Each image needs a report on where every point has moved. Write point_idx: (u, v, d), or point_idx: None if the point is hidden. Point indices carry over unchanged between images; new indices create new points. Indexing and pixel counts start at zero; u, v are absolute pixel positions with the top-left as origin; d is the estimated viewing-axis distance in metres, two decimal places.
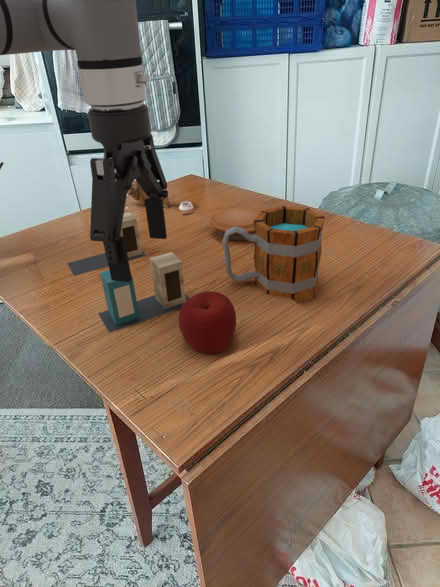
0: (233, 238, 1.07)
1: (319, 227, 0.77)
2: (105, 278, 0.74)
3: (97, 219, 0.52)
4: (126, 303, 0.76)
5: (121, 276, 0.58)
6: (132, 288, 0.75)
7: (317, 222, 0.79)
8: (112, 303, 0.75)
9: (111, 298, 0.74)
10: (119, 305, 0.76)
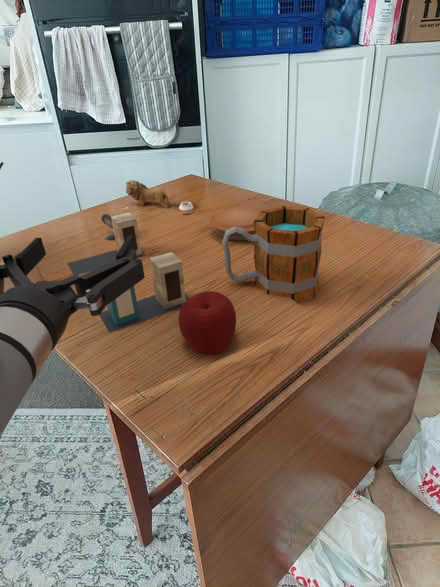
0: (233, 238, 1.07)
1: (319, 227, 0.77)
2: None
3: None
4: (126, 303, 0.76)
5: None
6: (132, 288, 0.75)
7: (317, 222, 0.79)
8: (112, 303, 0.75)
9: None
10: (119, 305, 0.76)
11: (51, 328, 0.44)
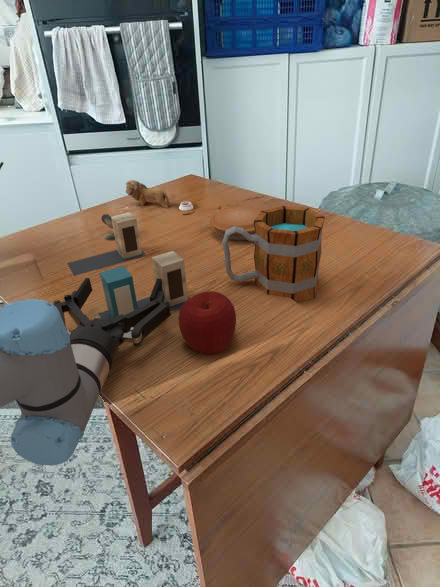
0: (233, 238, 1.07)
1: (319, 227, 0.77)
2: (105, 278, 0.74)
3: None
4: (126, 303, 0.76)
5: None
6: (132, 288, 0.75)
7: (317, 222, 0.79)
8: (112, 303, 0.75)
9: (111, 298, 0.74)
10: (119, 305, 0.76)
11: (108, 357, 0.62)
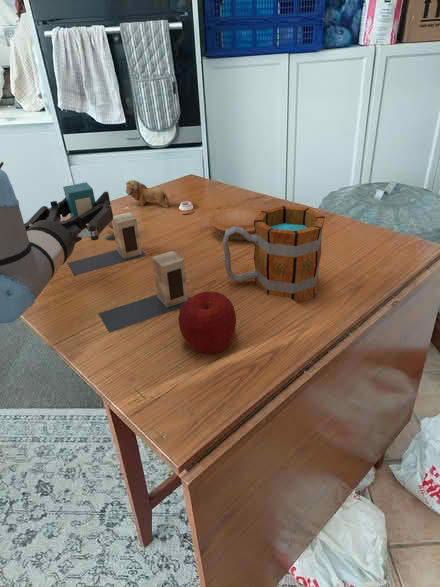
0: (233, 238, 1.07)
1: (319, 227, 0.77)
2: (67, 190, 0.79)
3: None
4: None
5: None
6: (93, 201, 0.81)
7: (317, 222, 0.79)
8: (74, 214, 0.80)
9: (73, 209, 0.80)
10: None
11: (63, 246, 0.67)
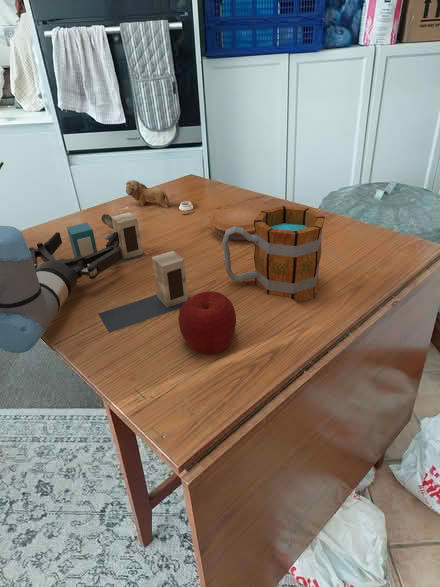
0: (233, 238, 1.07)
1: (319, 227, 0.77)
2: (70, 231, 0.91)
3: None
4: (88, 252, 0.94)
5: None
6: (93, 240, 0.93)
7: (317, 222, 0.79)
8: (76, 251, 0.92)
9: (75, 247, 0.92)
10: (82, 253, 0.93)
11: (67, 284, 0.79)
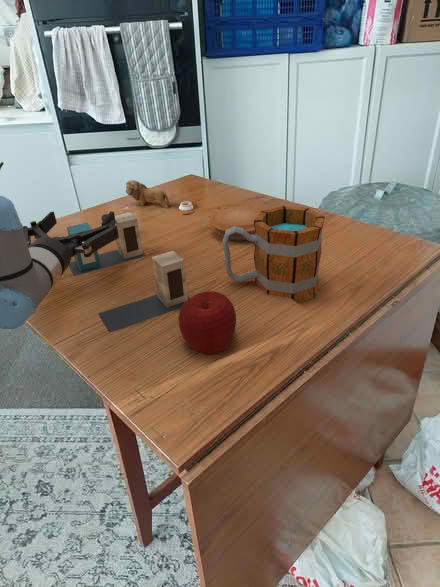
0: (233, 238, 1.07)
1: (319, 227, 0.77)
2: (70, 231, 0.91)
3: None
4: None
5: None
6: None
7: (317, 222, 0.79)
8: None
9: None
10: (82, 253, 0.93)
11: (61, 261, 0.77)
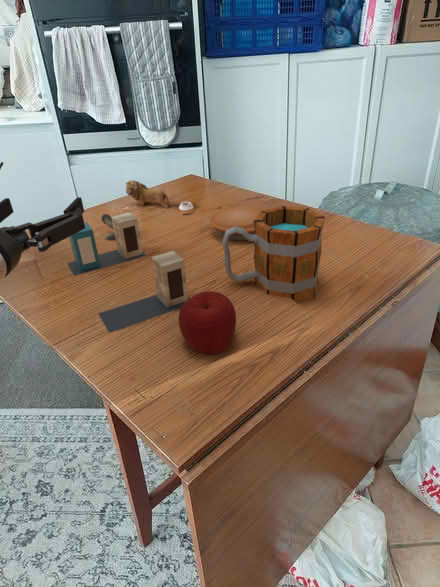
0: (233, 238, 1.07)
1: (319, 227, 0.77)
2: None
3: None
4: (88, 252, 0.94)
5: None
6: (93, 240, 0.93)
7: (317, 222, 0.79)
8: (76, 251, 0.92)
9: (75, 247, 0.92)
10: (82, 253, 0.93)
11: (6, 256, 0.61)
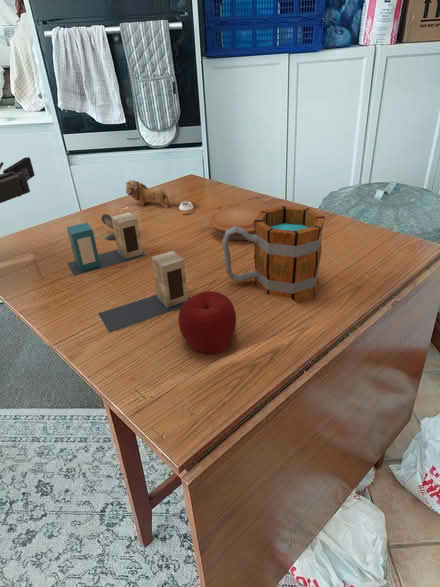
0: (233, 238, 1.07)
1: (319, 227, 0.77)
2: (70, 231, 0.91)
3: None
4: (88, 252, 0.94)
5: None
6: (93, 240, 0.93)
7: (317, 222, 0.79)
8: (76, 251, 0.92)
9: (75, 247, 0.92)
10: (82, 253, 0.93)
11: None
